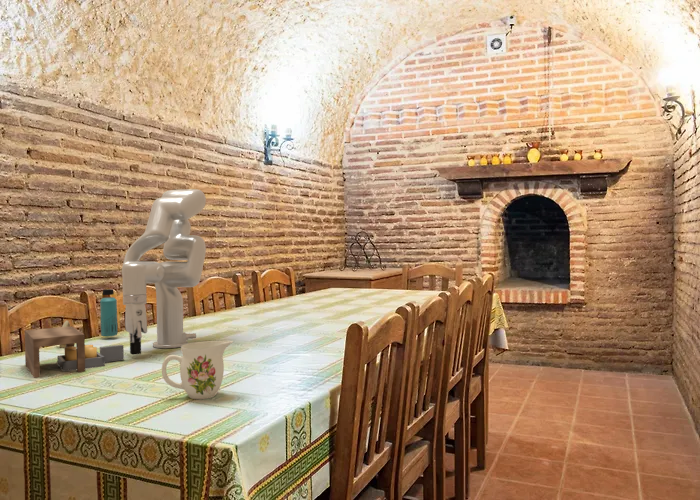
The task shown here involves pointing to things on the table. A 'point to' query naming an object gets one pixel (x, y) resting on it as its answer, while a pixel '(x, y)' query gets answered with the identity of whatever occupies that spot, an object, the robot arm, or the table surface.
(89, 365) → the tray
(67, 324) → the chocolate bunny
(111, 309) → the beverage bottle
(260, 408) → the table surface
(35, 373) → the brown wooden footstool
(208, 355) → the pitcher
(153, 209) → the robot arm
